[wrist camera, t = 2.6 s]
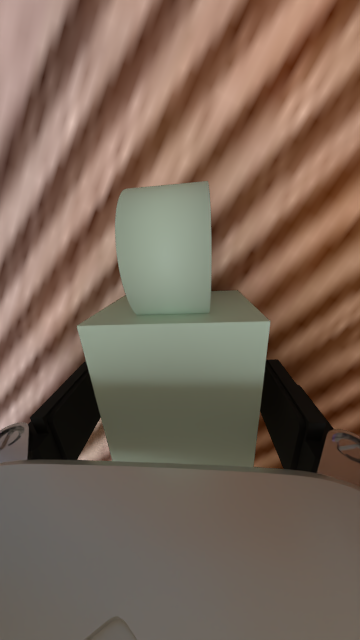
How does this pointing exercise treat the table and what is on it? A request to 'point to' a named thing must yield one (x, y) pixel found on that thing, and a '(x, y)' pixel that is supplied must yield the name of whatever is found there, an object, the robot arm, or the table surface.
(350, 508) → the robot arm
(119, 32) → the table surface
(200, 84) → the table surface
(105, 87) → the table surface
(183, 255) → the sage hinge leaf
